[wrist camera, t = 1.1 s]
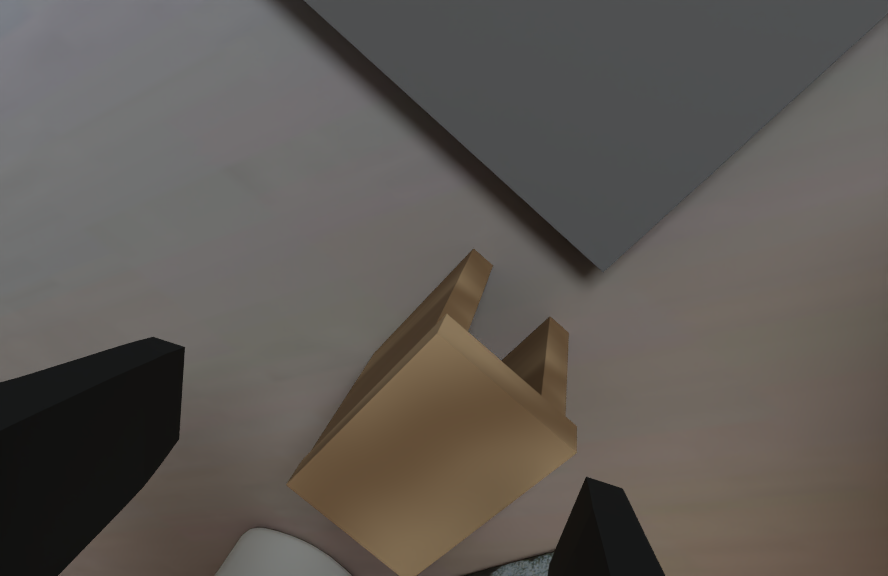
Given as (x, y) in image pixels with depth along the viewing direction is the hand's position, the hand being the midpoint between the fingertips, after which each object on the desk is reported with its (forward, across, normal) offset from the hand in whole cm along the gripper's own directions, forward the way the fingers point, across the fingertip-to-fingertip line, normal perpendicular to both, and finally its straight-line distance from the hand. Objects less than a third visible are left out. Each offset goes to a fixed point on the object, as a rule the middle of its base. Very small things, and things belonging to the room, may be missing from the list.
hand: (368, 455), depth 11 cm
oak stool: (+10, -1, +3) cm, 10 cm away
